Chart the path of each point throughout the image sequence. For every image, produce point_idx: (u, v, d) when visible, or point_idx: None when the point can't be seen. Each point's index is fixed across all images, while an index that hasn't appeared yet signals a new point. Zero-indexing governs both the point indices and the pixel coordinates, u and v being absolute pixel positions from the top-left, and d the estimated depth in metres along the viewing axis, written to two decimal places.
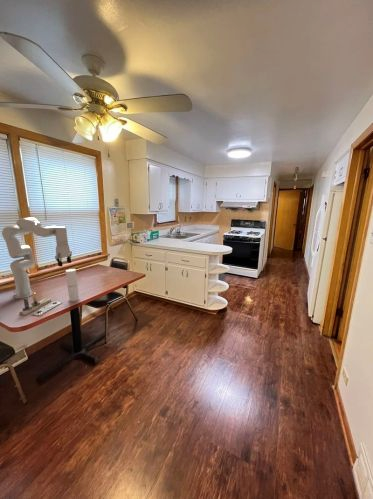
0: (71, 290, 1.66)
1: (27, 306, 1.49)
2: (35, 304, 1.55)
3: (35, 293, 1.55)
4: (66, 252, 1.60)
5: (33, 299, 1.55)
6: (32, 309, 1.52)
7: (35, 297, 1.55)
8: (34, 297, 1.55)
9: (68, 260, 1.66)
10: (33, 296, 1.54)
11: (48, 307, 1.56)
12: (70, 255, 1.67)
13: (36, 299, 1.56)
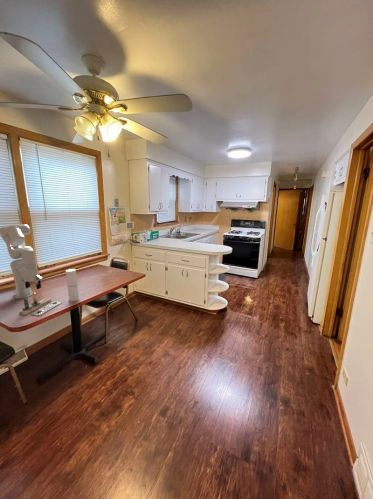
0: (71, 290, 1.66)
1: (27, 306, 1.49)
2: (35, 304, 1.55)
3: (35, 293, 1.55)
4: None
5: (33, 299, 1.55)
6: (32, 309, 1.52)
7: (35, 297, 1.55)
8: (34, 297, 1.55)
9: (28, 285, 1.54)
10: (33, 296, 1.54)
11: (48, 307, 1.56)
12: None
13: (36, 299, 1.56)
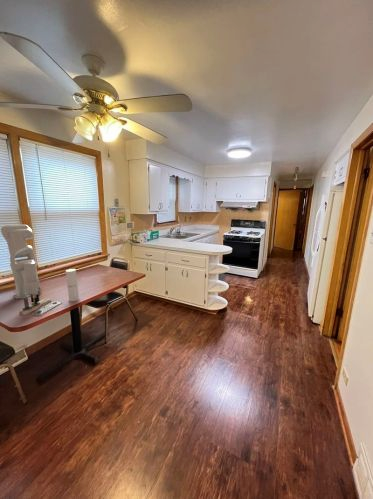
0: (71, 290, 1.66)
1: (27, 306, 1.49)
2: (35, 304, 1.55)
3: None
4: None
5: (33, 299, 1.55)
6: (32, 309, 1.52)
7: None
8: (34, 297, 1.55)
9: None
10: (33, 296, 1.54)
11: (48, 307, 1.56)
12: (32, 293, 1.57)
13: None
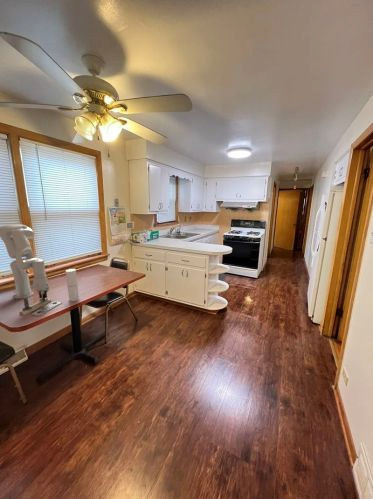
0: (71, 290, 1.66)
1: (27, 306, 1.49)
2: (43, 300, 1.62)
3: None
4: None
5: (41, 295, 1.62)
6: (32, 309, 1.52)
7: None
8: (42, 293, 1.61)
9: None
10: (41, 292, 1.61)
11: (48, 307, 1.56)
12: None
13: None
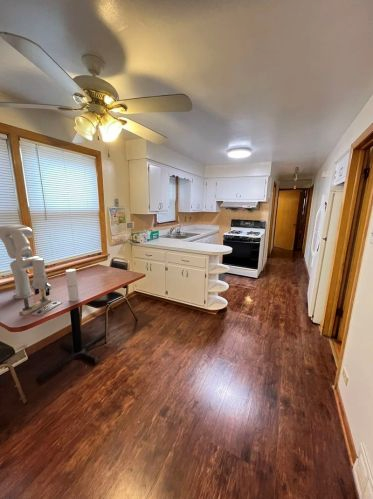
0: (71, 290, 1.66)
1: (27, 306, 1.49)
2: (43, 300, 1.62)
3: (43, 289, 1.62)
4: None
5: (41, 295, 1.62)
6: (32, 309, 1.52)
7: (43, 293, 1.62)
8: (42, 293, 1.61)
9: (37, 291, 1.63)
10: (41, 292, 1.61)
11: (48, 307, 1.56)
12: None
13: (44, 295, 1.63)
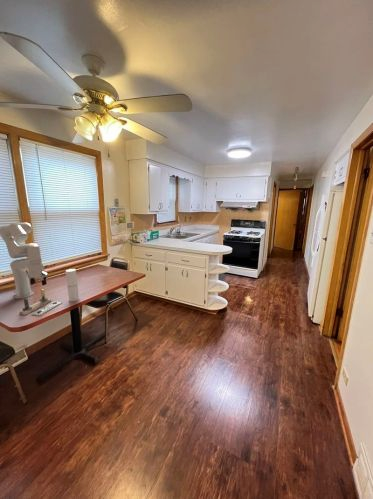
0: (71, 290, 1.66)
1: (27, 306, 1.49)
2: (43, 300, 1.62)
3: (43, 289, 1.62)
4: None
5: (41, 295, 1.62)
6: (32, 309, 1.52)
7: (43, 293, 1.62)
8: (42, 293, 1.61)
9: (33, 281, 1.53)
10: (41, 292, 1.61)
11: (48, 307, 1.56)
12: None
13: (44, 295, 1.63)
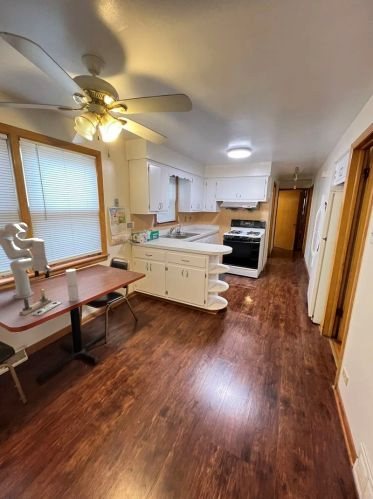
0: (71, 290, 1.66)
1: (27, 306, 1.49)
2: (43, 300, 1.62)
3: (43, 289, 1.62)
4: None
5: (41, 295, 1.62)
6: (32, 309, 1.52)
7: (43, 293, 1.62)
8: (42, 293, 1.61)
9: (37, 274, 1.61)
10: (41, 292, 1.61)
11: (48, 307, 1.56)
12: None
13: (44, 295, 1.63)
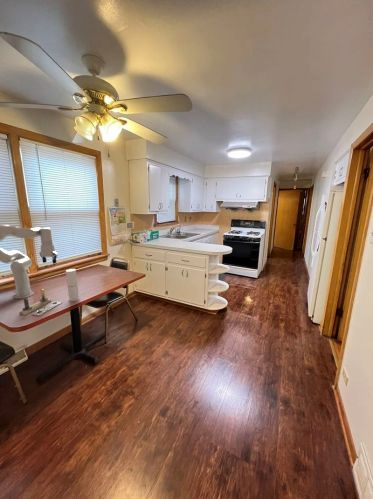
0: (71, 290, 1.66)
1: (27, 306, 1.49)
2: (43, 300, 1.62)
3: (43, 289, 1.62)
4: None
5: (41, 295, 1.62)
6: (32, 309, 1.52)
7: (43, 293, 1.62)
8: (42, 293, 1.61)
9: (44, 260, 1.75)
10: (41, 292, 1.61)
11: (48, 307, 1.56)
12: None
13: (44, 295, 1.63)
